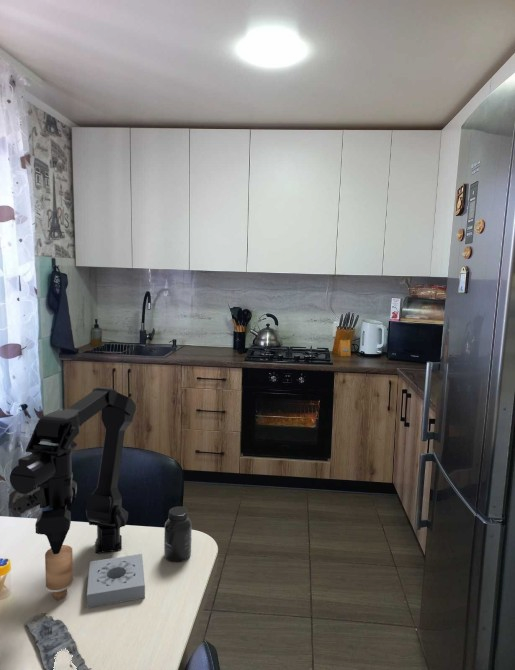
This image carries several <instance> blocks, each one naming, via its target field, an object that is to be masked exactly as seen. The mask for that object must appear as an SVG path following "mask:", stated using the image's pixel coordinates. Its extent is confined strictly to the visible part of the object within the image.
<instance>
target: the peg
mask: <svg viewBox="0 0 515 670" xmlns="http://www.w3.org/2000/svg"><path fill="white" fill-rule="evenodd" d="M44 558H45V559H44V561H45V562H44V563H45V564H44V565H45V567H44V568H45V570H44V571H45V589H46V591H48V592H50V593H51V594H52V595H51V596H52V598H53V599H54V600H61V599H63V598H65V597H66V596H67V595H68V588H70V587H72V585H73V583H74V564H73V563H74V560H73V558H74V557H73V547H72V546H70V545H67V544H63V545H62V547H61V550H60V552H59V554H53V552H52V549H51V548H49V549H48V550H47V551H45V553H44Z"/></svg>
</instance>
